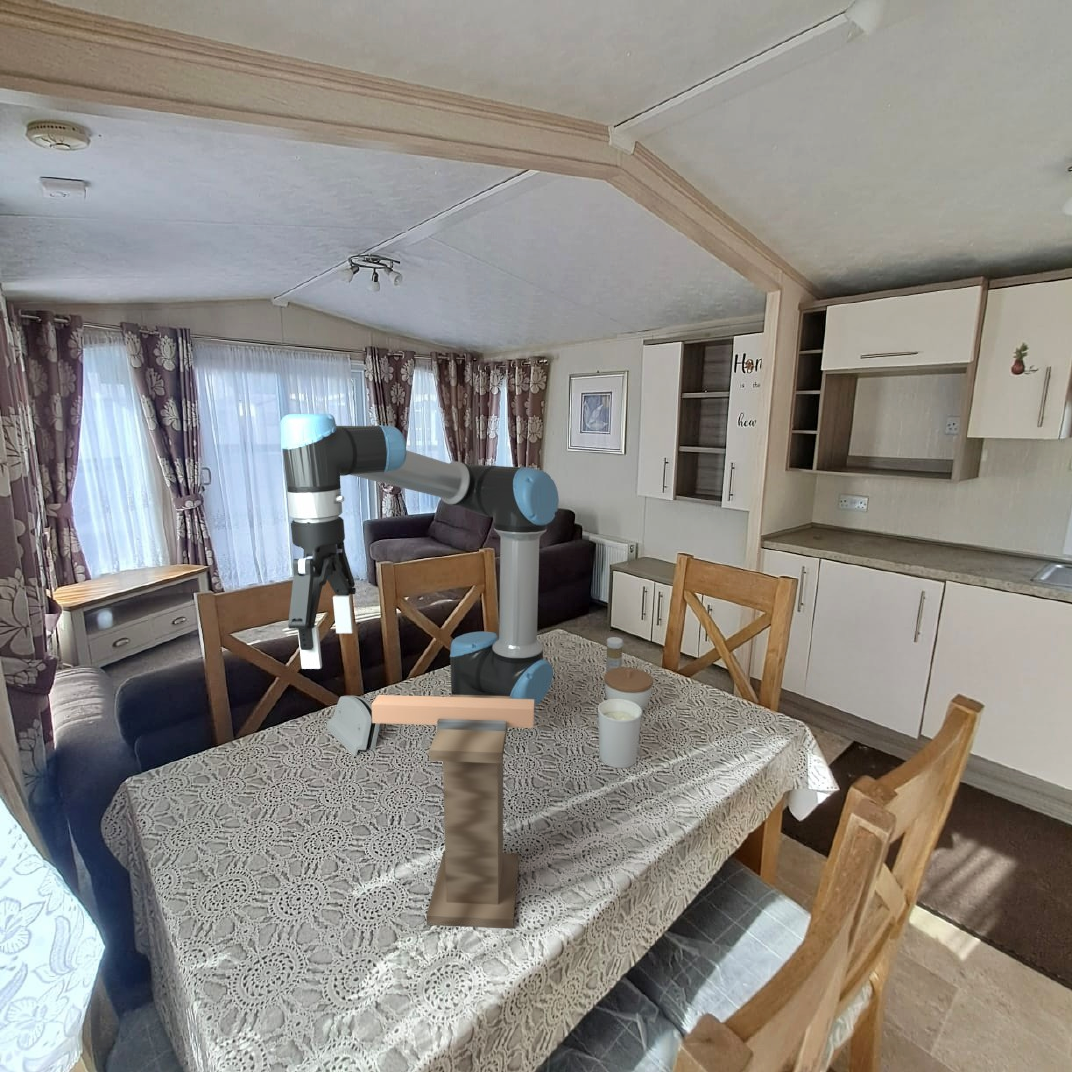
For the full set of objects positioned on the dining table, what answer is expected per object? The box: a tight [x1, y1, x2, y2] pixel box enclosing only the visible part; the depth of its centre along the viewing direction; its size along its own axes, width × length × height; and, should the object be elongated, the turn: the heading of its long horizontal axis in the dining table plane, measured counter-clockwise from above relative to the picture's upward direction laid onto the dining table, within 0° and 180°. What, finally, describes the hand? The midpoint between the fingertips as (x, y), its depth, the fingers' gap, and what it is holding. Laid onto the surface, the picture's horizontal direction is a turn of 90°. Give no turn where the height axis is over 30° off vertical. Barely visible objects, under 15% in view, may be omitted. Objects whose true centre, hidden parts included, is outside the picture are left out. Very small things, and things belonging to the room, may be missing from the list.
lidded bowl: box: [603, 666, 654, 711], centre depth 147 cm, size 13×13×11 cm
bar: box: [371, 694, 535, 729], centre depth 83 cm, size 24×3×3 cm, turn 88°
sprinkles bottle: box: [605, 636, 624, 673], centre depth 161 cm, size 5×5×14 cm
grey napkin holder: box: [325, 695, 381, 757], centre depth 133 cm, size 17×5×10 cm, turn 43°
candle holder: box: [597, 699, 643, 769], centre depth 125 cm, size 10×10×12 cm
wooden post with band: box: [426, 694, 520, 929], centre depth 87 cm, size 13×16×31 cm
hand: (329, 649), depth 89 cm, fingers open, 13 cm apart
